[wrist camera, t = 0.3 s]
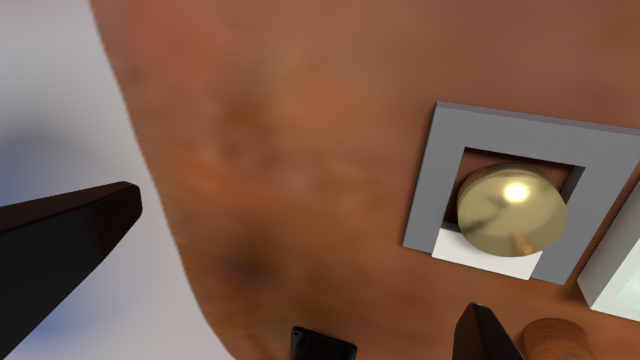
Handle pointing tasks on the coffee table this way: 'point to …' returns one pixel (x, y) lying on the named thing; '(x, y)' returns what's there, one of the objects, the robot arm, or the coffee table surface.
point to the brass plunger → (510, 210)
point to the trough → (616, 265)
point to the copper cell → (556, 341)
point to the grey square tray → (528, 141)
